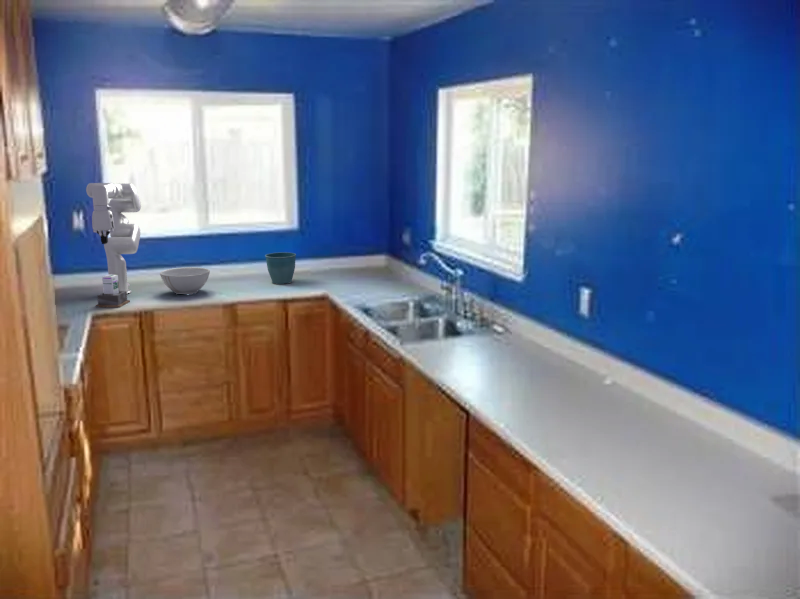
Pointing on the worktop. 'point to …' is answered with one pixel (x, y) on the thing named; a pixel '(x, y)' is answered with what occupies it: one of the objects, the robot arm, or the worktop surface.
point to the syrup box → (110, 284)
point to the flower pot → (281, 266)
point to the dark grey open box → (113, 300)
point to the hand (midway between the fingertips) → (104, 243)
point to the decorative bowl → (185, 279)
